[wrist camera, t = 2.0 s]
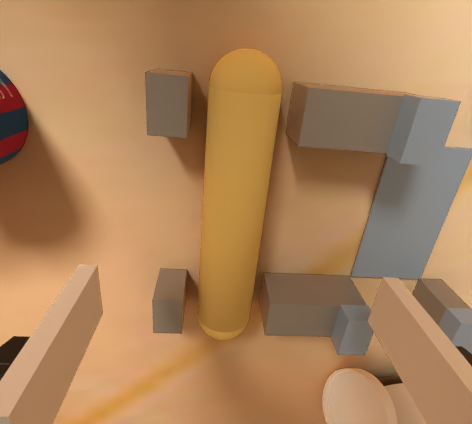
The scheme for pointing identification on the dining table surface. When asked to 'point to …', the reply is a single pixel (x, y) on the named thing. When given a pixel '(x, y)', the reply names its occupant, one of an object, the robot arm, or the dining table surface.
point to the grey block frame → (379, 220)
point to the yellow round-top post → (235, 186)
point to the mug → (11, 120)
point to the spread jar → (367, 399)
